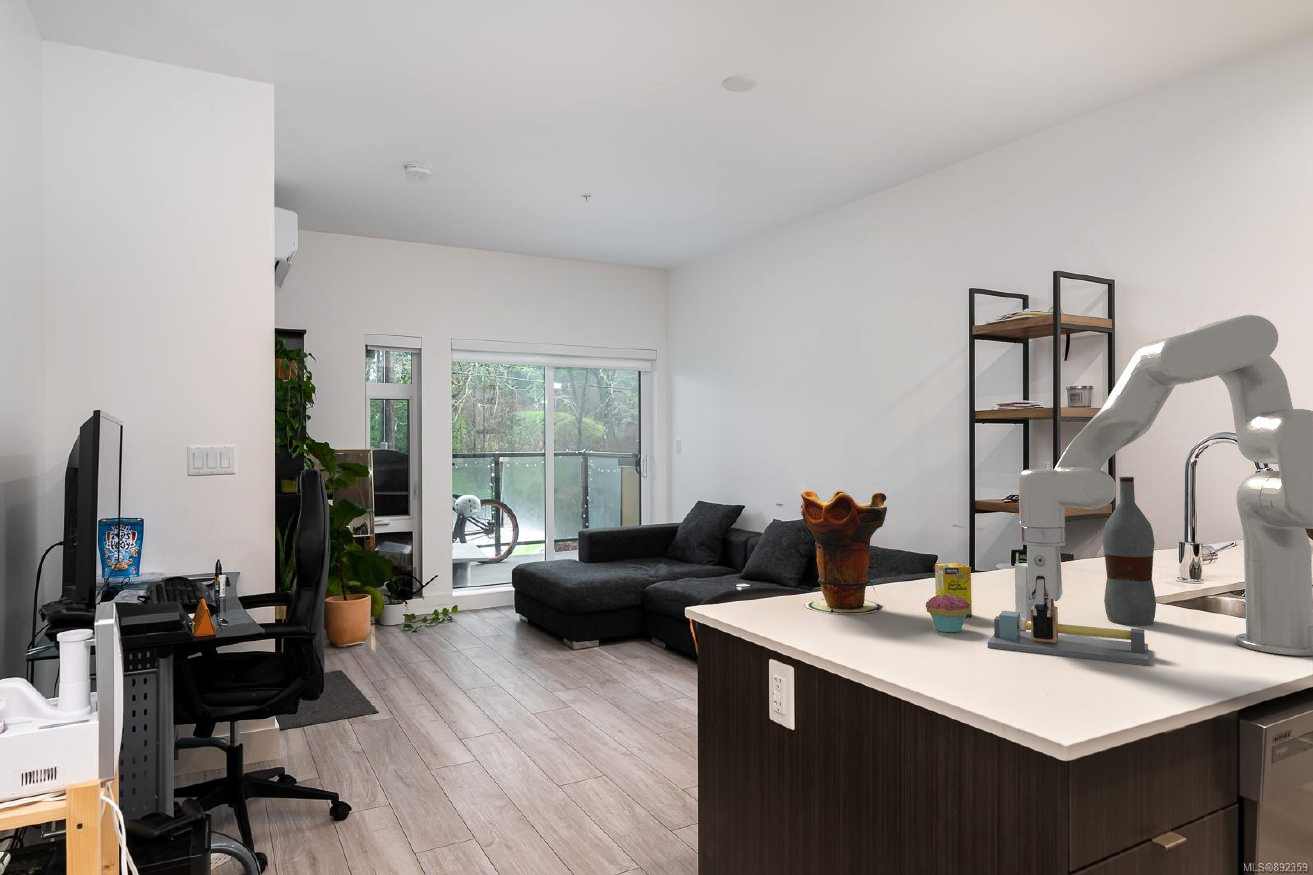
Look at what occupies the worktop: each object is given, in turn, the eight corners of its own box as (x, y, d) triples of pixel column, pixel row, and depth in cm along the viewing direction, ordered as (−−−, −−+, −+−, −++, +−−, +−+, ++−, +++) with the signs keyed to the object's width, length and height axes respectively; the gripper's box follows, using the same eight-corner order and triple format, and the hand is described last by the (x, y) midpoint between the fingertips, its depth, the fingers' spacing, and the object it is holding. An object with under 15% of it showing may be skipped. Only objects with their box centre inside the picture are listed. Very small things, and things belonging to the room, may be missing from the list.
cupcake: (923, 632, 156) (922, 572, 156) (929, 623, 164) (928, 566, 164) (969, 636, 152) (968, 574, 152) (974, 627, 160) (972, 568, 160)
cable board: (1148, 649, 141) (1147, 619, 141) (1148, 665, 131) (1147, 633, 131) (998, 633, 154) (997, 606, 154) (987, 647, 144) (987, 618, 144)
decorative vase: (903, 599, 188) (898, 482, 187) (875, 623, 168) (869, 493, 167) (820, 592, 199) (815, 482, 198) (784, 614, 179) (779, 492, 178)
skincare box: (1027, 625, 161) (1025, 566, 161) (1014, 621, 165) (1013, 563, 165) (1054, 624, 161) (1053, 565, 162) (1041, 619, 166) (1040, 562, 166)
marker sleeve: (1058, 637, 145) (1057, 606, 145) (1055, 642, 141) (1055, 611, 141) (1034, 634, 147) (1033, 604, 147) (1031, 639, 143) (1030, 609, 143)
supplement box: (972, 617, 169) (971, 566, 169) (944, 618, 169) (943, 567, 169) (962, 612, 175) (961, 562, 175) (935, 612, 175) (934, 563, 175)
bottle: (1142, 616, 167) (1139, 475, 167) (1166, 626, 158) (1162, 477, 158) (1096, 616, 168) (1093, 476, 168) (1117, 626, 159) (1113, 478, 159)
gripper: (1061, 542, 135) (1063, 648, 135) (1068, 532, 150) (1071, 628, 149) (1013, 540, 139) (1016, 643, 139) (1025, 530, 154) (1028, 624, 153)
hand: (1044, 634), depth 144 cm, fingers closed on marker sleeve, 4 cm apart
